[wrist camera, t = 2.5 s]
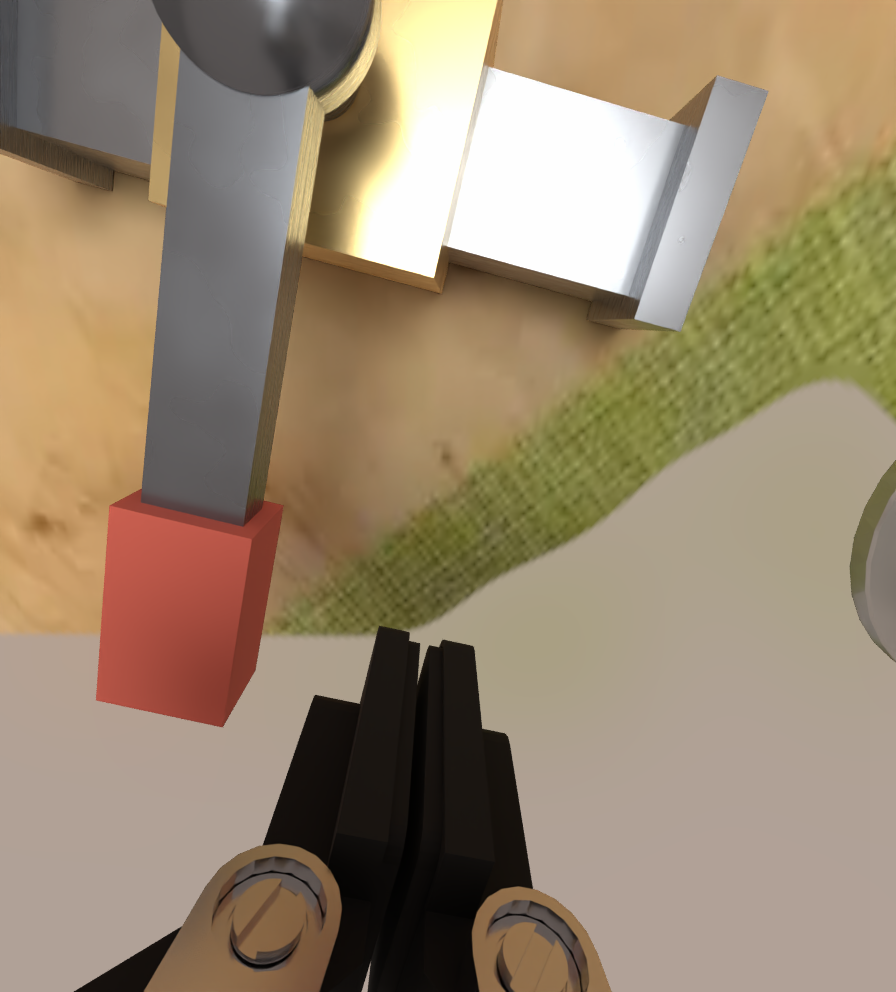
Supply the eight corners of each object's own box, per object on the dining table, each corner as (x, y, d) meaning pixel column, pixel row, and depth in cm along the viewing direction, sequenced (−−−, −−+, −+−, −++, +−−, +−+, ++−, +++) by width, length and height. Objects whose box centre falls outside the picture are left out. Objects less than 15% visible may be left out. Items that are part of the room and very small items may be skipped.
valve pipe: (681, 144, 17) (916, -40, 8) (616, 340, 19) (753, 357, 10) (82, -33, 16) (-365, -459, 7) (73, 194, 17) (-295, 71, 9)
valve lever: (203, -133, 8) (135, -256, 6) (403, -71, 8) (389, -175, 7) (133, 643, 12) (79, 697, 10) (268, 673, 12) (238, 730, 11)
